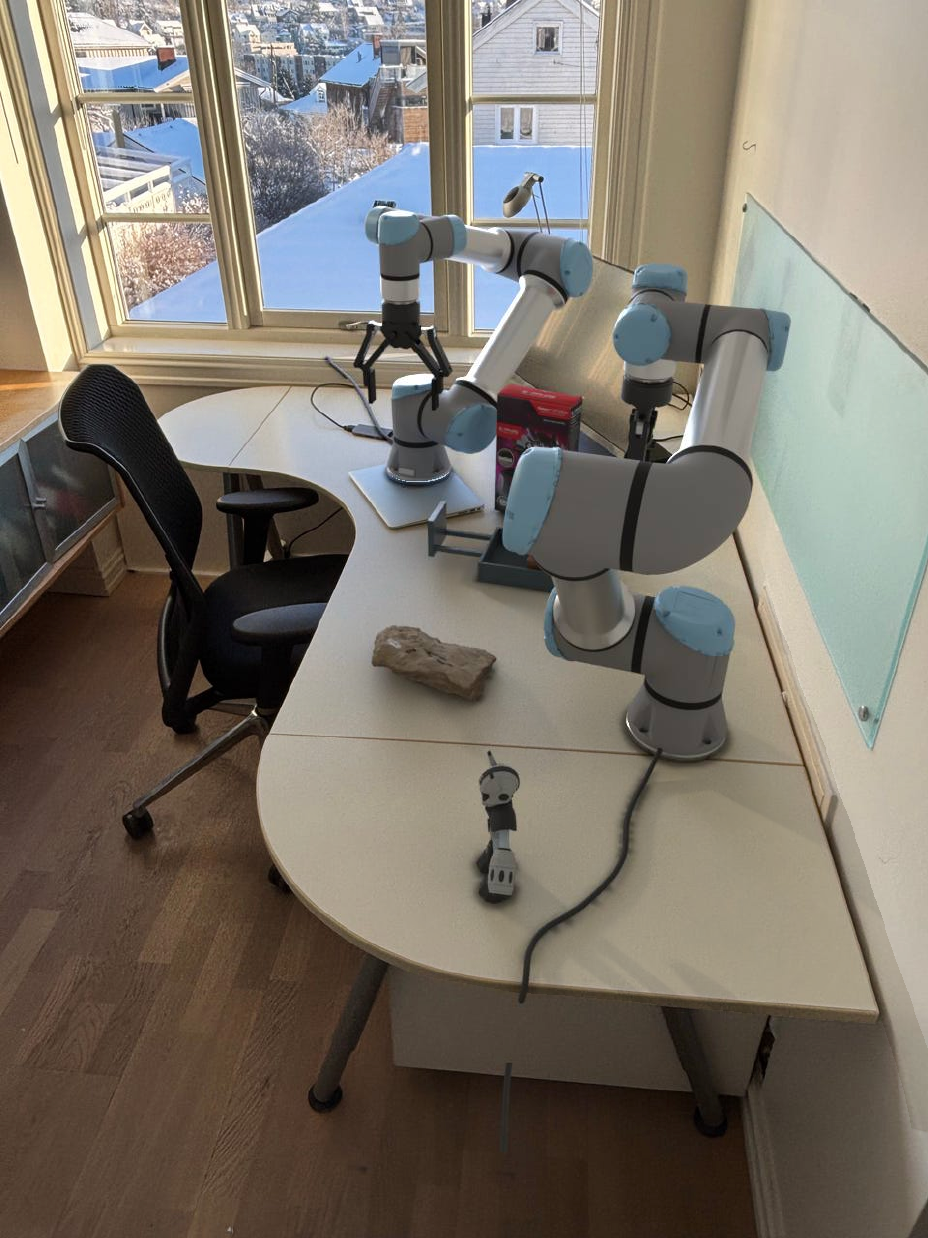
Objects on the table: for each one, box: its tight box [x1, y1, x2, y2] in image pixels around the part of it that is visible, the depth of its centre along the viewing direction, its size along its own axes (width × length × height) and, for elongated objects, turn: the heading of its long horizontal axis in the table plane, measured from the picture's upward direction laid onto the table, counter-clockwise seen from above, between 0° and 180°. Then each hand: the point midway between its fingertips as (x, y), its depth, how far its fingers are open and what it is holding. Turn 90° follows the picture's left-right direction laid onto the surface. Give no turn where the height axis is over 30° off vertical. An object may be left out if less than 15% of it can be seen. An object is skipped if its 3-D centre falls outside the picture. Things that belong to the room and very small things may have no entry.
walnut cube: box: [527, 555, 542, 570], centre depth 178 cm, size 5×5×5 cm
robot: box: [475, 750, 521, 904], centre depth 113 cm, size 20×5×20 cm, turn 3°
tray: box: [427, 500, 555, 593], centre depth 183 cm, size 26×15×10 cm, turn 75°
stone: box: [371, 624, 498, 702], centre depth 153 cm, size 21×15×6 cm
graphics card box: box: [494, 383, 584, 513], centre depth 195 cm, size 17×7×27 cm, turn 62°
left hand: (403, 405), depth 190 cm, fingers open, 13 cm apart
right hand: (633, 503), depth 149 cm, fingers open, 13 cm apart
